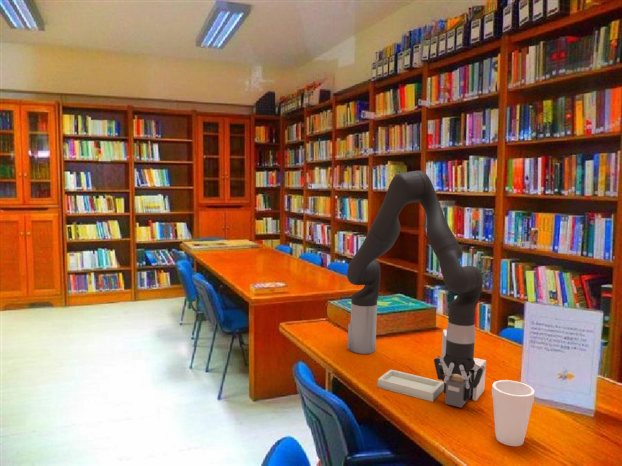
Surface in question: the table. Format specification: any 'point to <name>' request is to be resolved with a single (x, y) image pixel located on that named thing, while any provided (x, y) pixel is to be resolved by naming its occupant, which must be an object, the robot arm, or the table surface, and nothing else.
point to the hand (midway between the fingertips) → (456, 397)
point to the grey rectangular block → (456, 390)
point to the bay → (480, 386)
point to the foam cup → (511, 410)
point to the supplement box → (444, 350)
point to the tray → (411, 385)
